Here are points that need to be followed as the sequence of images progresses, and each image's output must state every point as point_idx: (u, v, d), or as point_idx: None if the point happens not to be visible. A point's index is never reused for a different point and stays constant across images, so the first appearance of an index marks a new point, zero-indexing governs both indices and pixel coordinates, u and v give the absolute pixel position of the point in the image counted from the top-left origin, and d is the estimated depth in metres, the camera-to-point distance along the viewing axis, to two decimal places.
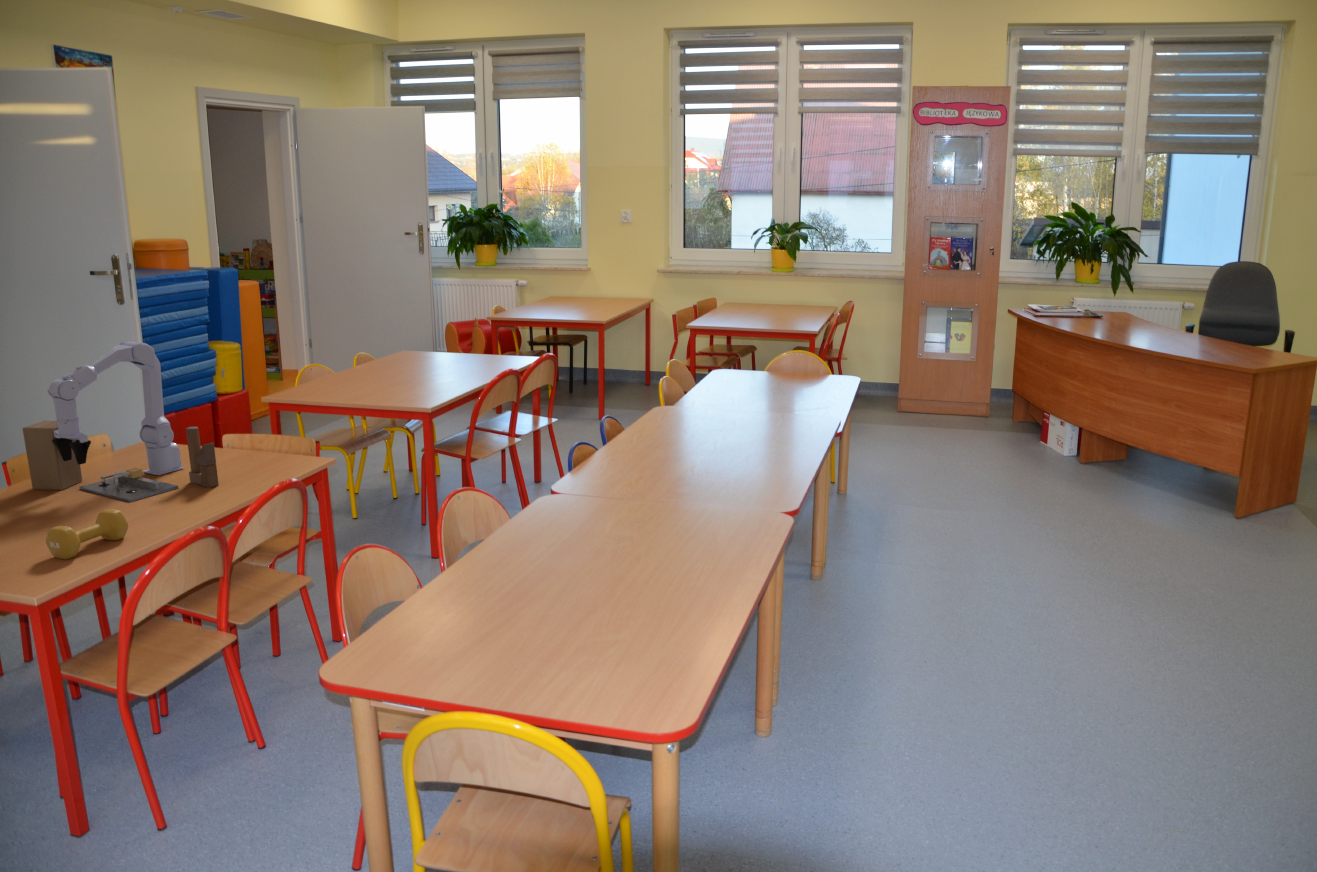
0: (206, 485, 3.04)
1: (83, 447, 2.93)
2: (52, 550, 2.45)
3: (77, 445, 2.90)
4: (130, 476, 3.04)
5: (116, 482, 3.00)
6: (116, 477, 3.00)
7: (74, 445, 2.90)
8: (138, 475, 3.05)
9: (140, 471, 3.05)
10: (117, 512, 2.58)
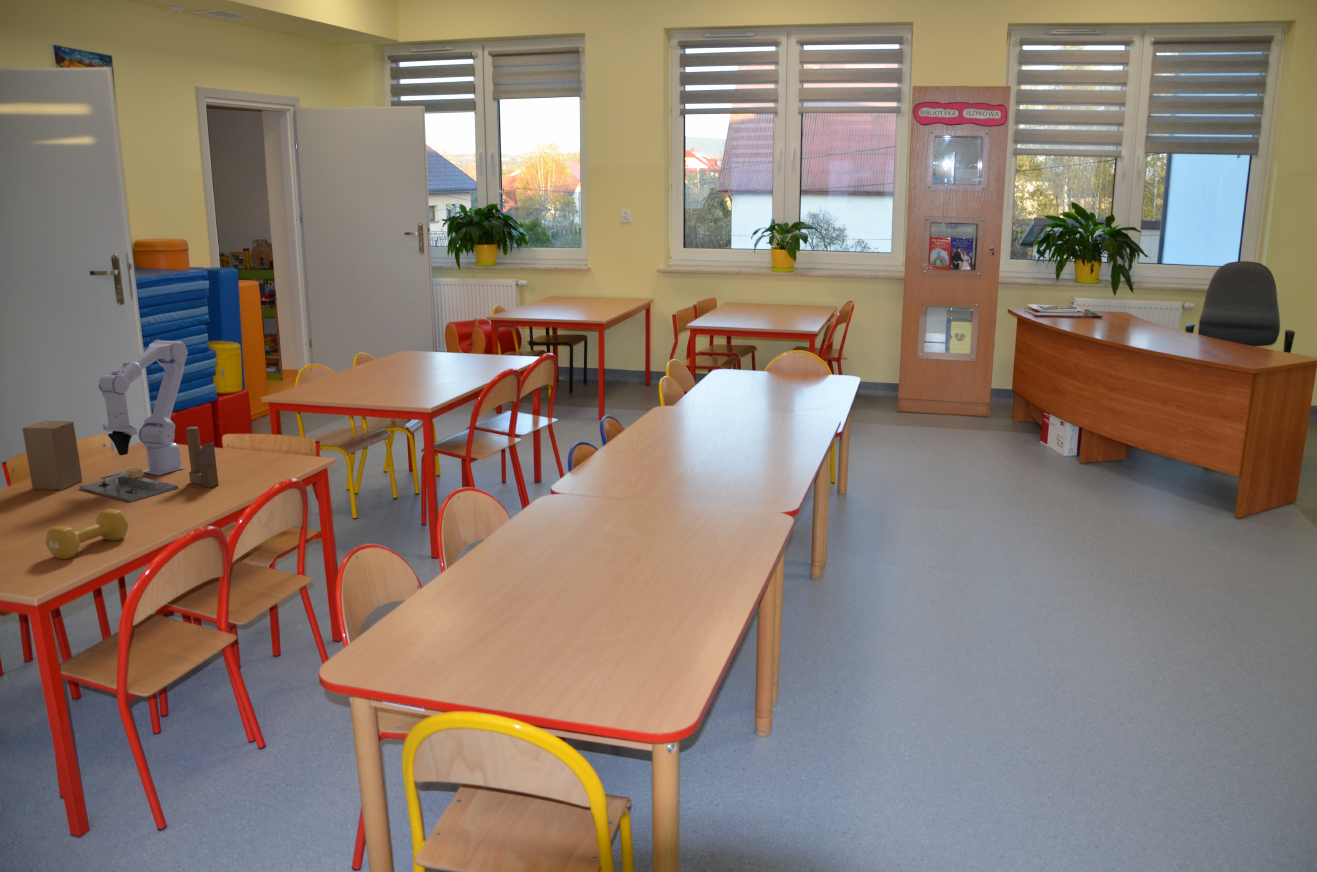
0: (206, 485, 3.04)
1: (125, 438, 3.05)
2: (51, 549, 2.45)
3: (120, 436, 3.02)
4: (130, 476, 3.04)
5: (116, 482, 3.00)
6: (116, 477, 3.00)
7: (117, 436, 3.01)
8: (138, 475, 3.05)
9: (140, 471, 3.05)
10: (117, 512, 2.58)
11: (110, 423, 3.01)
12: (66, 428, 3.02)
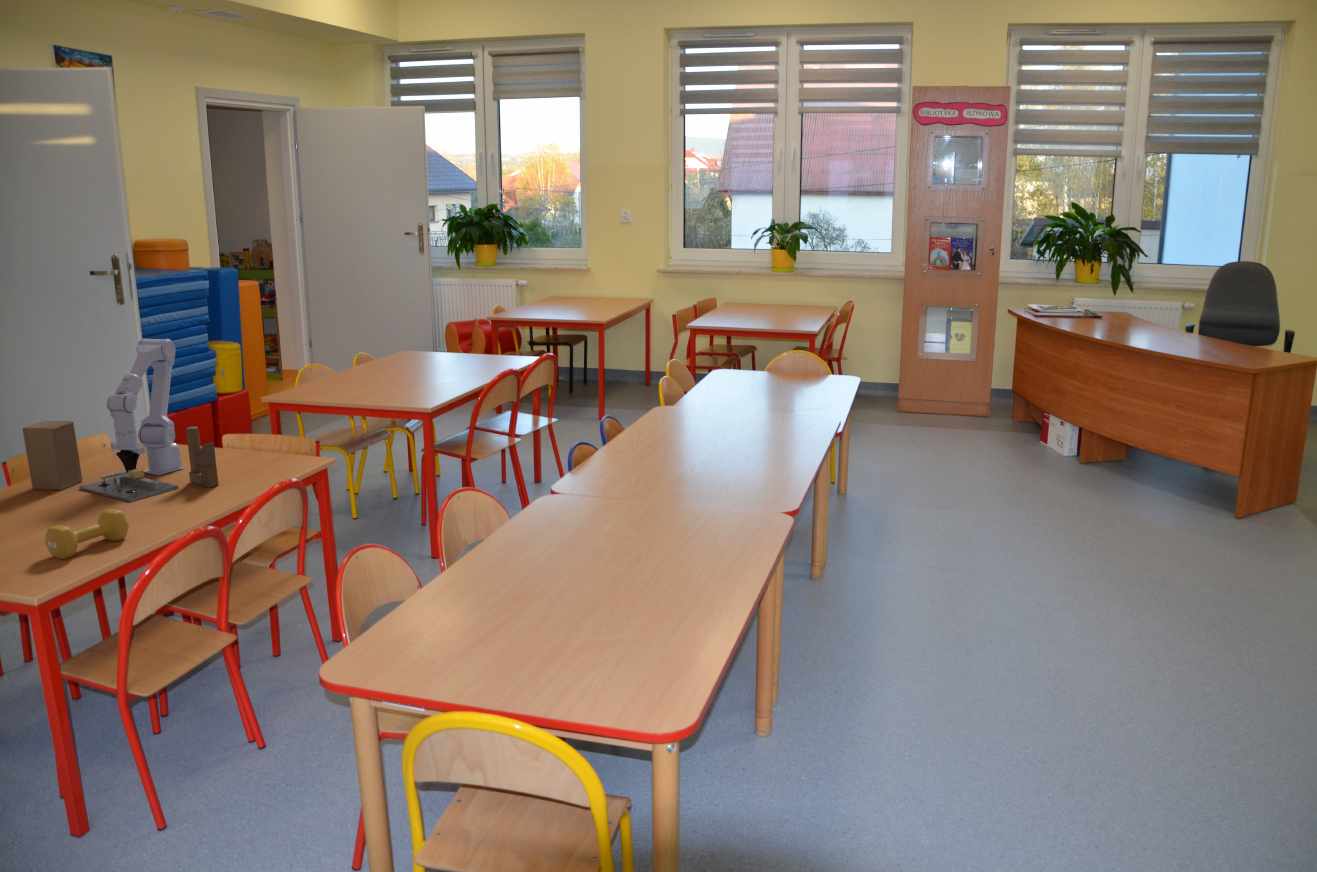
0: (206, 485, 3.04)
1: (133, 457, 3.05)
2: (50, 549, 2.45)
3: (128, 455, 3.02)
4: (132, 476, 3.03)
5: (117, 482, 2.99)
6: (118, 477, 2.99)
7: (125, 455, 3.01)
8: (140, 475, 3.04)
9: (142, 471, 3.05)
10: (118, 512, 2.57)
11: (118, 442, 3.01)
12: (66, 428, 3.02)
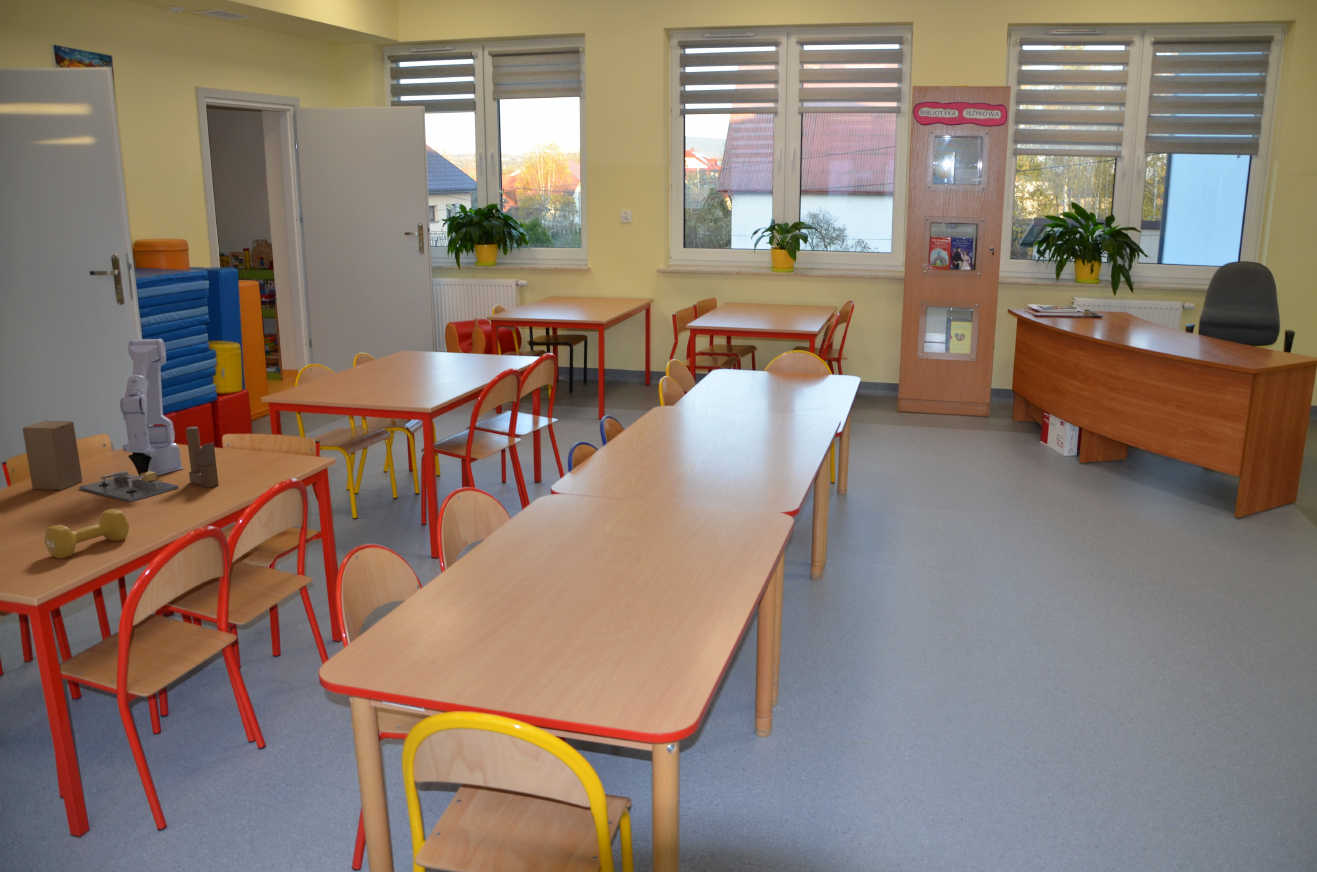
0: (206, 485, 3.04)
1: (145, 460, 3.02)
2: (48, 548, 2.46)
3: (140, 458, 2.99)
4: (144, 479, 3.00)
5: (130, 485, 2.96)
6: (130, 480, 2.96)
7: (137, 458, 2.98)
8: (152, 478, 3.01)
9: (154, 474, 3.02)
10: (118, 513, 2.57)
11: (130, 444, 2.98)
12: (66, 428, 3.02)
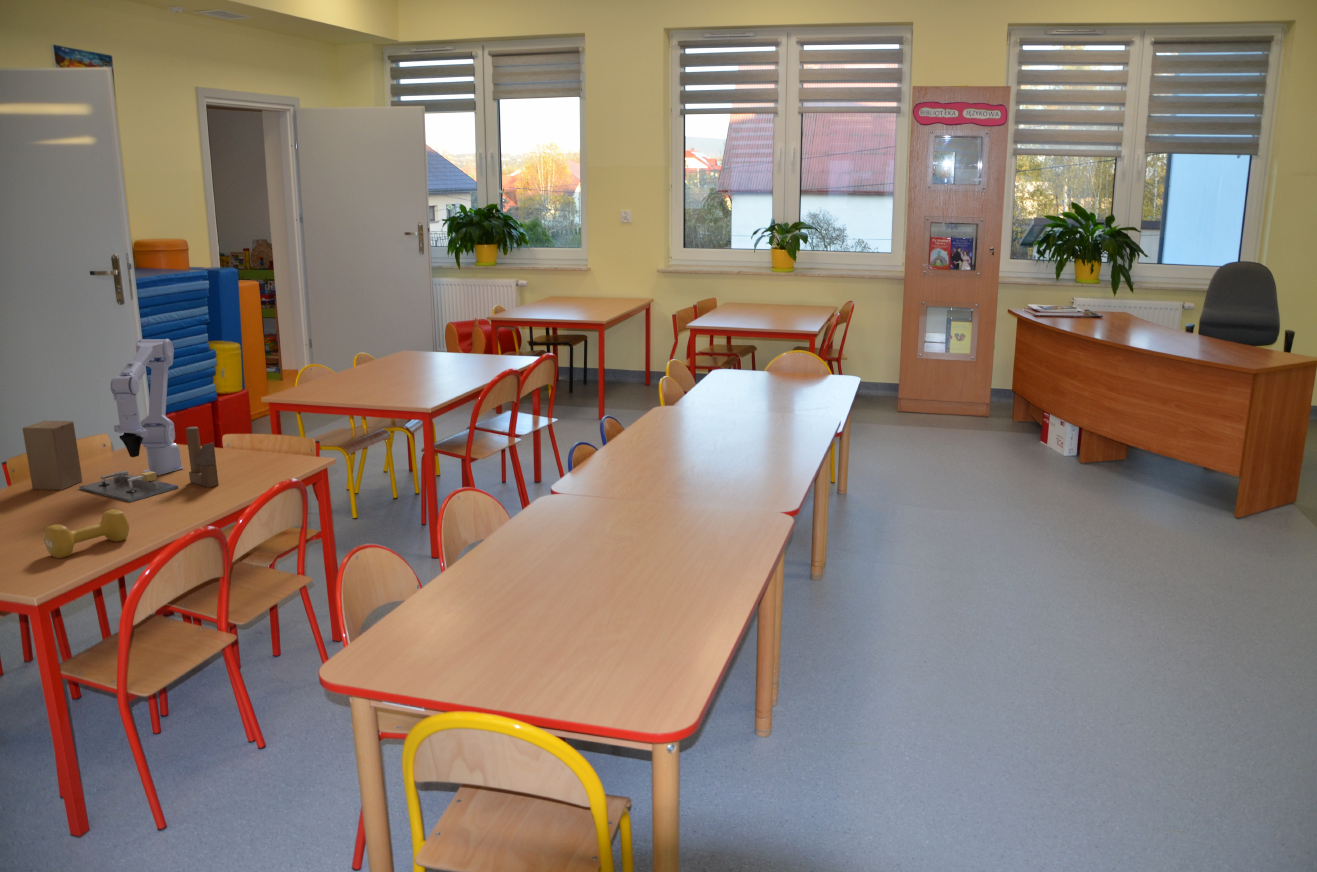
0: (206, 485, 3.04)
1: (137, 440, 3.02)
2: (47, 548, 2.46)
3: (131, 438, 2.99)
4: (144, 479, 3.00)
5: (130, 485, 2.96)
6: (130, 480, 2.96)
7: (128, 438, 2.98)
8: (152, 478, 3.01)
9: (154, 474, 3.02)
10: (118, 513, 2.56)
11: (121, 425, 2.98)
12: (66, 428, 3.02)
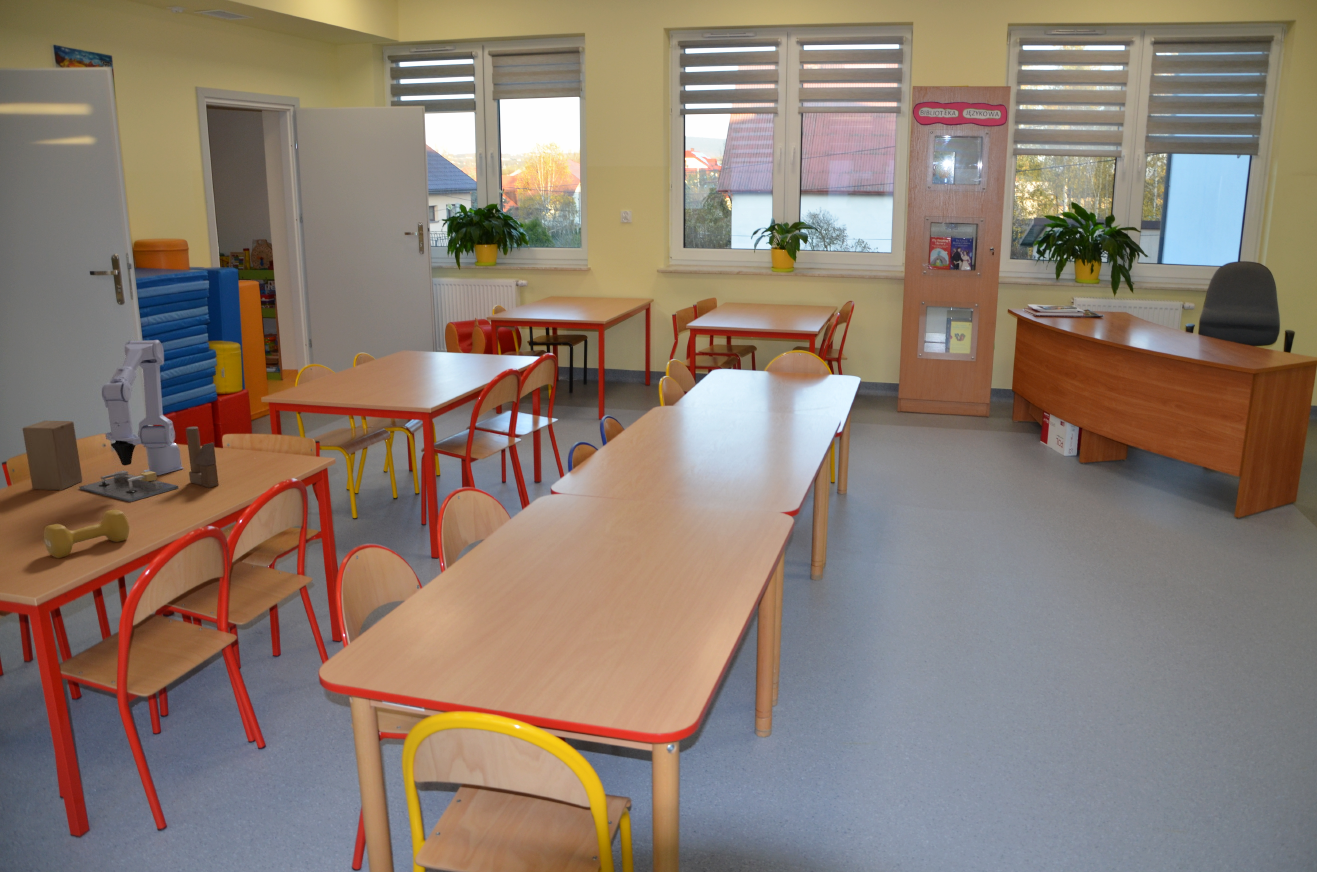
0: (206, 485, 3.04)
1: (129, 448, 2.95)
2: (46, 547, 2.47)
3: (123, 446, 2.92)
4: (144, 479, 3.00)
5: (130, 485, 2.96)
6: (130, 480, 2.96)
7: (120, 446, 2.91)
8: (152, 478, 3.01)
9: (154, 474, 3.02)
10: (119, 514, 2.56)
11: (113, 432, 2.91)
12: (66, 428, 3.02)
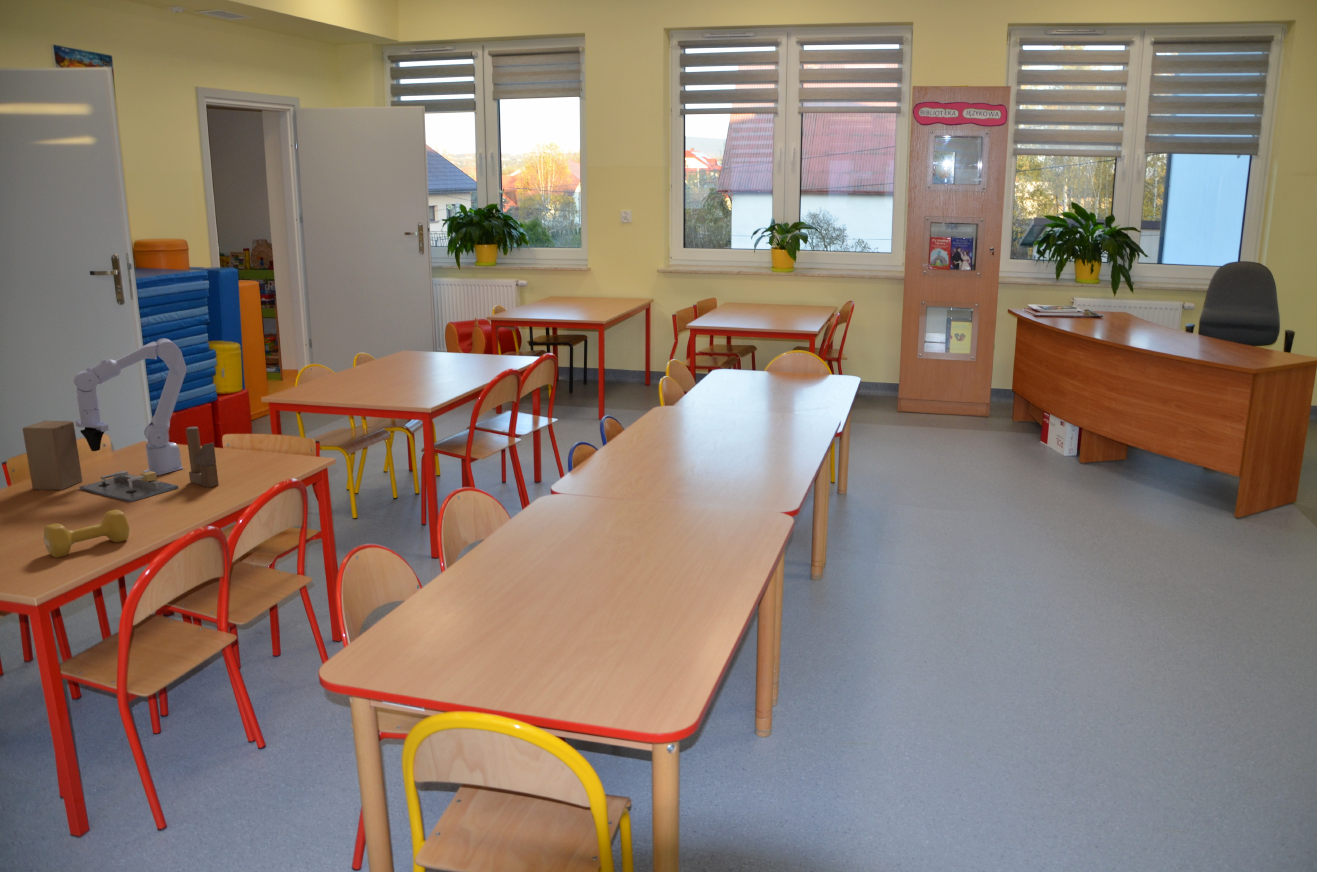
0: (206, 485, 3.04)
1: (97, 435, 3.09)
2: (46, 546, 2.47)
3: (92, 433, 3.05)
4: (144, 479, 3.00)
5: (130, 485, 2.96)
6: (130, 480, 2.96)
7: (89, 433, 3.05)
8: (152, 478, 3.01)
9: (154, 474, 3.02)
10: (119, 514, 2.56)
11: (82, 419, 3.04)
12: (66, 428, 3.02)
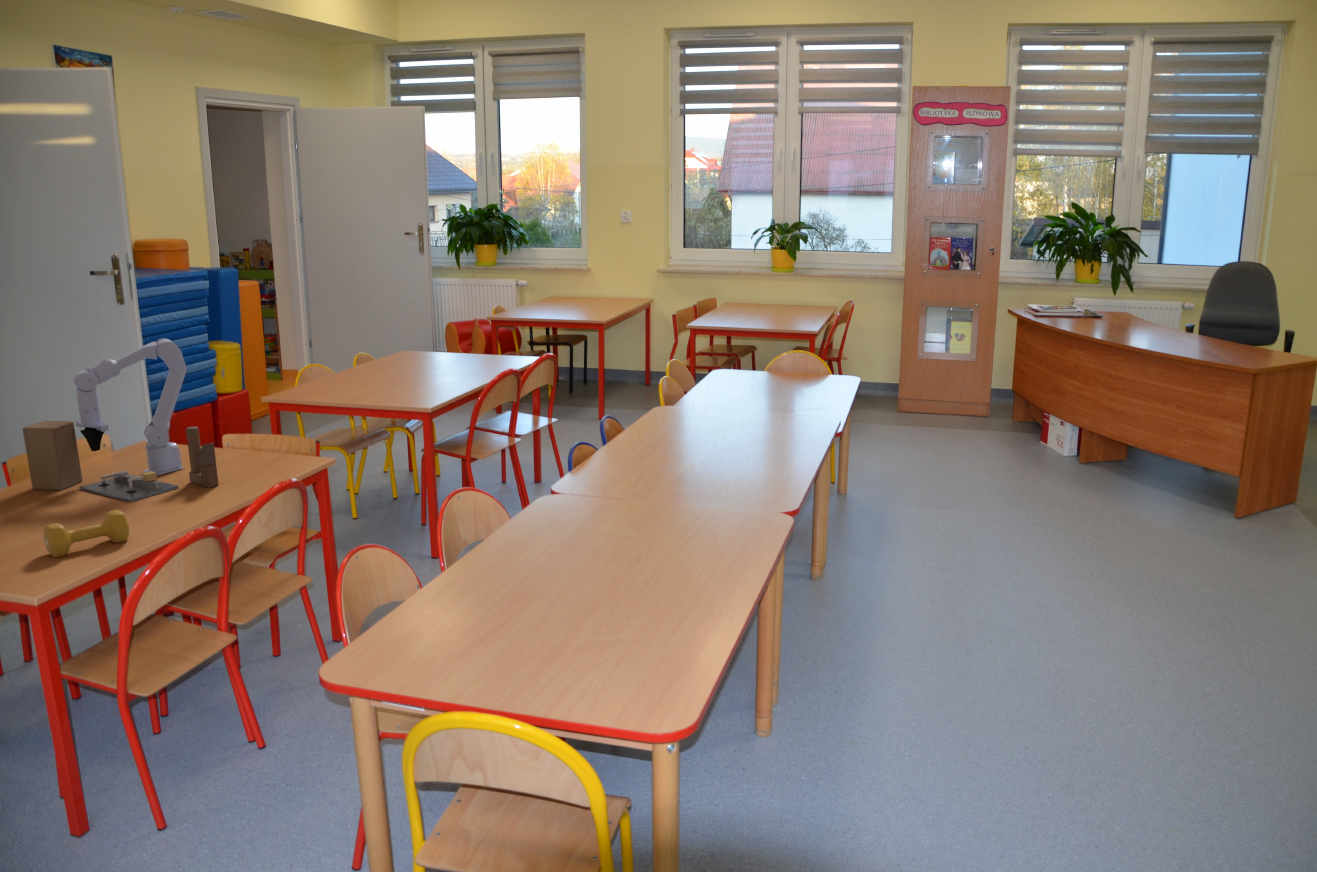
0: (206, 485, 3.04)
1: (97, 435, 3.09)
2: None
3: (92, 433, 3.05)
4: (144, 479, 3.00)
5: (130, 485, 2.96)
6: (130, 480, 2.96)
7: (89, 433, 3.05)
8: (152, 478, 3.01)
9: (154, 474, 3.02)
10: (119, 515, 2.56)
11: (82, 419, 3.04)
12: (66, 428, 3.02)
